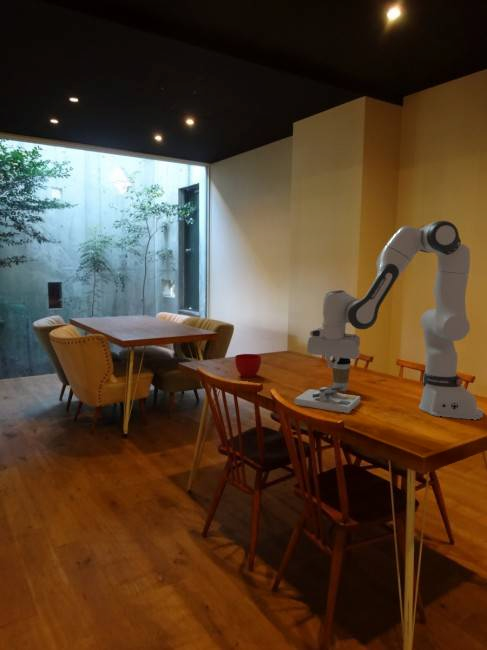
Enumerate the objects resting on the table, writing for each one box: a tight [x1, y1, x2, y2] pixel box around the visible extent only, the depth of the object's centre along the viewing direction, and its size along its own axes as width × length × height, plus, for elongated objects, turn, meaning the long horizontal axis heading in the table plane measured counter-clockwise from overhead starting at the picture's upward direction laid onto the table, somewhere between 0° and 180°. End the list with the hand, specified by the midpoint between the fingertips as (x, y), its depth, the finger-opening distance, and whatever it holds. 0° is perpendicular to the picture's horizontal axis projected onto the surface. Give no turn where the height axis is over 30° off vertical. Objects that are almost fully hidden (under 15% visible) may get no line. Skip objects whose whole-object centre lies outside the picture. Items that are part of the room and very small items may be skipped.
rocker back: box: [318, 385, 343, 392], centre depth 188 cm, size 9×4×1 cm, turn 60°
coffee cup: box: [331, 357, 352, 392], centre depth 205 cm, size 8×8×15 cm
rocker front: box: [312, 390, 338, 398], centre depth 181 cm, size 9×4×1 cm, turn 60°
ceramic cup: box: [234, 353, 262, 378], centre depth 232 cm, size 13×17×10 cm
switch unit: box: [294, 385, 361, 414], centre depth 185 cm, size 22×16×6 cm
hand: (332, 367), depth 178 cm, fingers closed
